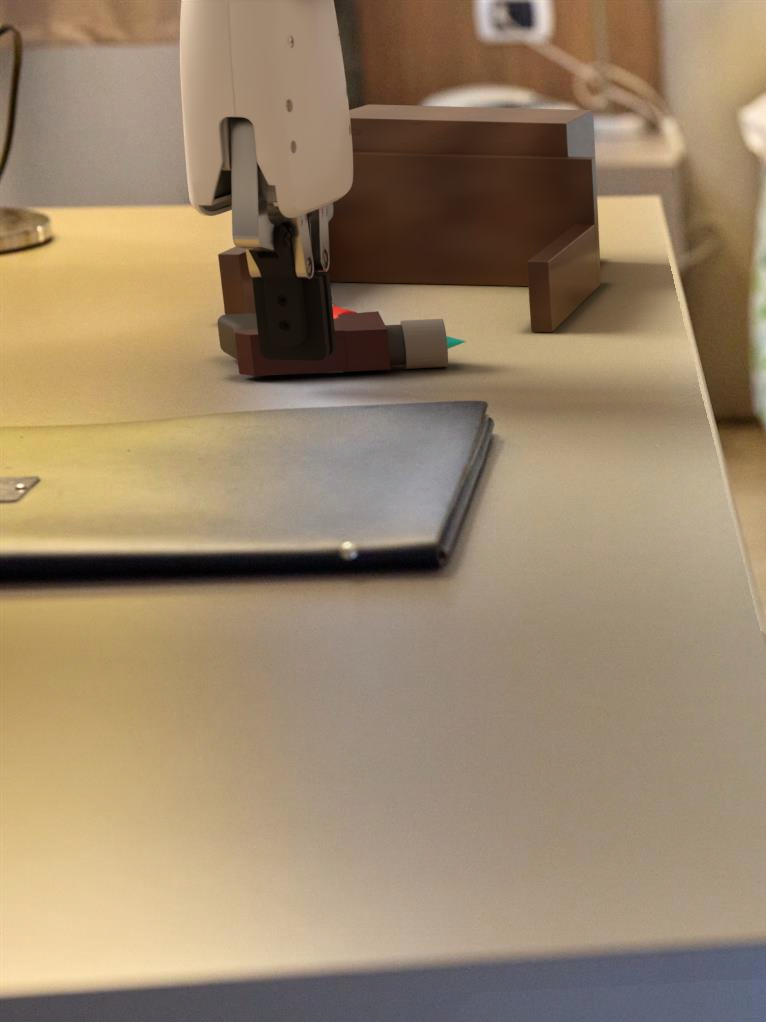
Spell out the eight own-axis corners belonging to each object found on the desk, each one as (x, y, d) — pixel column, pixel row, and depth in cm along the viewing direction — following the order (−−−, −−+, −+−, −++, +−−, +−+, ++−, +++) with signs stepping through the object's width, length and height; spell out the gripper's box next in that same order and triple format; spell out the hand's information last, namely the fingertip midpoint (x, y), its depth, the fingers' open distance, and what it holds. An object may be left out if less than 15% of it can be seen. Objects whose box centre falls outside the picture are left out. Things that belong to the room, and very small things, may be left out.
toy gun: (472, 371, 101) (466, 277, 99) (224, 385, 97) (213, 287, 95) (449, 335, 109) (443, 248, 107) (220, 346, 105) (209, 255, 103)
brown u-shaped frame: (225, 325, 110) (204, 143, 107) (355, 254, 134) (342, 103, 130) (552, 332, 111) (541, 151, 107) (625, 261, 134) (618, 110, 131)
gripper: (236, -46, 96) (274, 326, 102) (107, -43, 82) (161, 388, 88) (389, -41, 96) (418, 330, 103) (286, -37, 82) (327, 392, 89)
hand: (299, 355), depth 95 cm, fingers closed
